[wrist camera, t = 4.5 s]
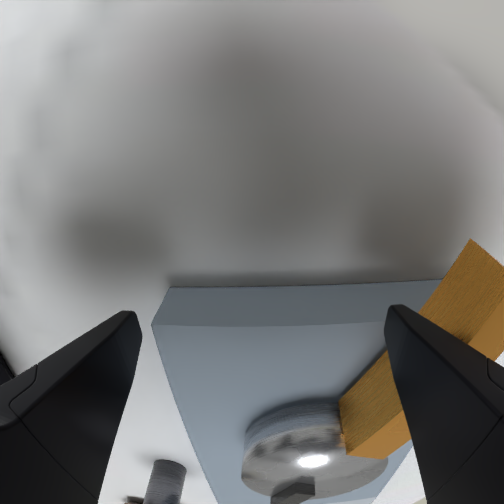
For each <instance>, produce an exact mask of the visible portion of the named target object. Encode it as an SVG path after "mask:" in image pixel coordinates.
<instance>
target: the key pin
mask: <svg viewBox="0 0 504 504" xmlns="http://www.w3.org/2000/svg"><path fill="white" fill-rule="evenodd" d="M185 475H186V469H185V468H184V467H183V466H182V465H180V464H178V463H175V462H172V461H168V460H156V461H155V462H154V466H153V469H152V473H151V476H150V480H149V484H148V487H147V491H146V495H145V498H144V502H143V504H180V499H181V494H182V489H183V484H184V480H185Z"/></svg>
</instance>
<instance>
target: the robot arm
mask: <svg viewBox="0 0 504 504" xmlns="http://www.w3.org/2000/svg"><path fill="white" fill-rule="evenodd" d="M384 337H385V342H386V346H387V351H388V356H389V360H390V365H391V370H392V375H393V379H394V382H395V385H396V389H397V392H398V395H399V398H400V401H401V405H402V408H403V411H404V415H405V418H406V421H407V425H408V428H409V432H410V435H411V439H412V443H413V446H414V450H415V454H416V458H417V462H418V466H419V470H420V474H421V478H422V482H423V487H424V491H425V496H426V500H427V504H504V367H502V366H501V365H499V364H497V363H496V362H494V361H493V360H491V359H490V358H487V357H486V356H485V355H484V354H482V353H480V352H479V351H477V350H476V349H474V348H473V347H471V346H470V345H468V344H466V343H465V342H463V341H462V340H460V339H459V338H457V337H455V336H454V335H452V334H451V333H449V332H447V331H446V330H444V329H443V328H441V327H439V326H438V325H436V324H435V323H433V322H431V321H430V320H428V319H427V318H425V317H423V316H422V315H420V314H418V313H417V312H415V311H413V310H412V309H410V308H409V307H407V306H405V305H404V304H394V305H390V306H389V308H388V311H387V316H386V320H385V325H384ZM141 343H142V331H141V328H140V325H139V321H138V318H137V315H136V313H135V312H134V311H120V312H119V313H117V314H115V315H114V316H112V317H111V318H109V319H107V320H106V321H104V322H102V323H101V324H99V325H98V326H96V327H94V328H93V329H91V330H90V331H88V332H86V333H85V334H83V335H82V336H80V337H78V338H77V339H75V340H74V341H72V342H71V343H69V344H67V345H66V346H64V347H63V348H61V349H59V350H58V351H56V352H55V353H53V354H52V355H50V356H48V357H47V358H45V359H44V360H42V361H41V362H39V363H38V365H37V364H36V365H34V366H33V367H31V368H30V369H28V370H26V371H25V372H23V373H21V374H20V375H18V376H17V377H15V378H14V377H13V375H12V374H11V372H10V370H9V369H8V367H7V365H6V364H5V362H4V360H3V359H2V357H1V355H0V504H98V499H99V495H100V491H101V488H102V484H103V480H104V476H105V472H106V469H107V465H108V462H109V458H110V454H111V451H112V447H113V444H114V441H115V437H116V434H117V431H118V427H119V424H120V421H121V417H122V414H123V411H124V408H125V405H126V402H127V399H128V395H129V392H130V389H131V386H132V383H133V379H134V375H135V370H136V365H137V361H138V356H139V351H140V347H141Z"/></svg>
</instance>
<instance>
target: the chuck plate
mask: <svg viewBox="0 0 504 504" xmlns="http://www.w3.org/2000/svg"><path fill="white" fill-rule="evenodd" d="M442 280H443V279H438V280H423V281H406V282H387V283H366V284H342V285H313V286H275V287H170V288H169V290H168V292H167V294H166V296H165V298H164V300H163V302H162V304H161V305H160V307H159V309H158V311H157V313H156V315H155V317H154V319H153V321H152V323H151V327H152V330H153V334H154V337H155V340H156V344H157V347H158V350H159V354H160V357H161V360H162V363H163V366H164V369H165V372H166V375H167V378H168V381H169V384H170V387H171V390H172V393H173V396H174V399H175V402H176V404H177V407H178V410H179V413H180V415H181V418H182V421H183V423H184V426H185V429H186V431H187V434H188V436H189V439H190V441H191V444H192V446H193V449H194V451H195V453H196V456H197V458H198V461H199V463H200V465H201V467H202V470H203V472H204V474H205V477H206V479H207V481H208V483H209V485H210V488H211V490H212V492H213V494H214V496H215V498H216V500H217V502H218V504H270V497H269V496H265V495H262V494H259V493H257V492H255V491H253V490H251V489H249V488H248V487H247V486H246V485H245V484H244V483H243V481H242V479H241V471H242V460H243V450H244V439H245V435H246V433H247V431H248V430H249V428H250V427H251V426H252V425H253V424H254V423H256V422H257V421H258V420H260V419H261V418H263V417H265V416H267V415H269V414H272V413H274V412H277V411H279V410H283V409H286V408H290V407H294V406H299V405H305V404H312V403H338V401H339V400H340V399H341V398H342V397H343V396H344V395H345V394H346V393H347V392H348V391H349V390H350V389H351V388H352V387H353V386H354V385H355V384H356V383H357V382H358V381H359V380H360V379H361V378H362V376H363V375H364V374H365V373H366V372H367V371H368V370H369V369H370V368H371V367H372V366H373V365H374V364H375V363H376V361H377V360H378V359H379V358H380V357H381V356H382V355H383V354H384V353H385V351H386V350H387V346H386V342H385V337H384V325H385V320H386V316H387V311H388V308H389V306H390V305H394V304H404V305H405V306H407V307H409V308H410V309H412V310H413V311H415V312H417V313H418V312H419V311H420V309H421V308H422V307H423V305H424V304H425V303H426V302H427V300H428V299H429V298H430V296H431V295H432V294H433V292H434V291H435V290H436V288H437V287H438V285H439V284H440V283H441V281H442ZM412 446H413V443H412V439H410V440H409V441H408V442H407V443H405V444H404V445H403V446H401V447H400V448H399V449H397V450H396V451H394V452H393V453H392V454H390V455H389V456H388V465H387V467H386V469H385V470H384V472H383V473H382V474H381V475H380V476H379V477H377V478H376V479H375V480H373V481H372V482H370V483H369V484H367V485H365V486H363V487H361V488H358V489H356V490H353V491H351V492H348V493H344V494H341V495H337V496H333V497H328V498H321V499H312V500H306V501H304V502H302V503H300V504H371V503H372V502H373V501H374V500H375V498H376V497H377V496H378V495H379V493H380V492H381V491H382V489H383V488H384V487H385V485H386V484H387V483H388V481H389V480H390V479H391V477H392V476H393V474H394V473H395V472H396V470H397V469H398V467H399V466H400V464H401V463H402V461H403V460H404V459H405V457H406V455H407V454H408V452H409V451H410V449H411V448H412Z"/></svg>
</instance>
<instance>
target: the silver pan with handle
mask: <svg viewBox="0 0 504 504" xmlns="http://www.w3.org/2000/svg"><path fill="white" fill-rule="evenodd" d="M418 314H420V315H422V316H423V317H425V318H427V319H428V320H430V321H431V322H433V323H435V324H436V325H438V326H439V327H441V328H443V329H444V330H446V331H447V332H449V333H451V334H452V335H454V336H455V337H457V338H459V339H460V340H462V341H463V342H465V343H466V344H468V345H470V346H471V347H473V348H474V349H476V350H477V351H479V352H480V353H482V354H484V355H485V356H486V357H487V358H490V359H491V360H493V361H495V360H496V359H497V358H498V357H499V356H500V354H501V353H502V352H503V351H504V266H503V265H502V264H501V263H500V262H499V261H497V260H496V259H495V258H494V257H493V256H491V255H490V254H489V253H488V252H487V251H485V250H484V249H483V248H482V247H481V246H479V245H478V244H477V243H476V242H474V241H473V240H472V239H471V238H470V239H469V241H468V243H467V244H466V246H465V247H464V249H463V250H462V252H461V253H460V255H459V256H458V258H457V260H456V261H455V262H454V264H453V265H452V267H451V268H450V270H449V271H448V273H447V274H446V276H445V277H444V278H443V280H442V281H441V283H440V284H439V285H438V287H437V288H436V290H435V291H434V292H433V294H432V295H431V296H430V298H429V299H428V300H427V302H426V303H425V304H424V305H423V307H422V308H421V309H420V311H419V312H418ZM410 439H411V435H410V432H409V428H408V425H407V421H406V418H405V415H404V411H403V408H402V405H401V401H400V398H399V395H398V392H397V389H396V385H395V382H394V379H393V375H392V370H391V365H390V360H389V356H388V351H387V350H386V351H385V353H384V354H383V355H382V356H381V357H380V358H379V359H378V360H377V361H376V363H375V364H374V365H373V366H372V367H371V368H370V369H369V370H368V371H367V372H366V373H365V374H364V375H363V376H362V378H361V379H360V380H359V381H358V382H357V383H356V384H355V385H354V386H353V387H352V388H351V389H350V390H349V391H348V392H347V393H346V394H345V395H344V396H343V397H342V398H341V399H340V400H339V401H338V403H312V404H305V405H299V406H294V407H290V408H286V409H283V410H279V411H277V412H274V413H272V414H269V415H267V416H265V417H263V418H261V419H260V420H258V421H257V422H256V423H254V424H253V425H252V426H251V427H250V428H249V430H248V431H247V433H246V435H245V439H244V450H243V460H242V471H241V479H242V481H243V483H244V484H245V485H246V486H247V487H248V488H249V489H251V490H253V491H255V492H257V493H259V494H262V495H265V496H269V497H270V504H300V503H302V502H304V501H306V500H312V499H321V498H328V497H333V496H337V495H341V494H344V493H348V492H351V491H353V490H356V489H358V488H361V487H363V486H365V485H367V484H369V483H370V482H372V481H373V480H375V479H376V478H377V477H379V476H380V475H381V474H382V473H383V472H384V470H385V469H386V467H387V465H388V456H389V455H390V454H392V453H393V452H394V451H396V450H397V449H399V448H400V447H401V446H403V445H404V444H405V443H407V442H408V441H409V440H410Z"/></svg>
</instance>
